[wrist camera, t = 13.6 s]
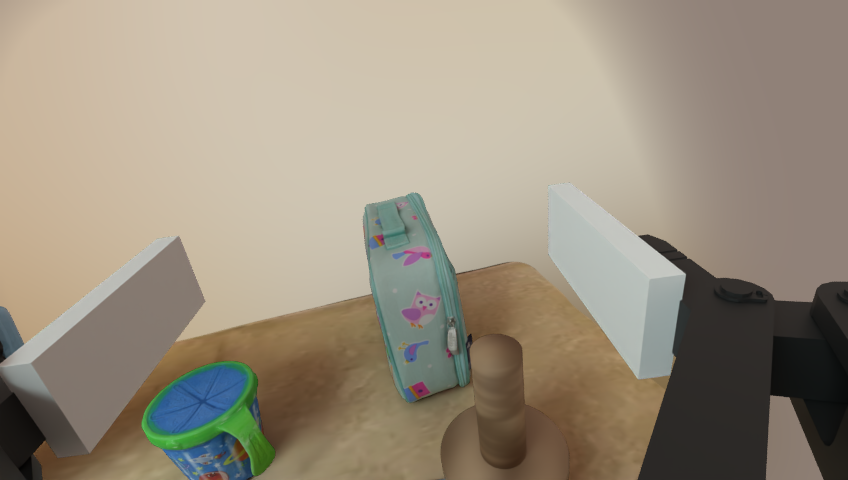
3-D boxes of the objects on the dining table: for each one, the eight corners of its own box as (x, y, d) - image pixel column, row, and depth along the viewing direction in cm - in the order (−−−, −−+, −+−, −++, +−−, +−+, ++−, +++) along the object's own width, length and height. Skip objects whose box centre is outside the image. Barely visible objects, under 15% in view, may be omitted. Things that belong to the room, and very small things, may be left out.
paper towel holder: (447, 528, 33) (427, 414, 28) (438, 416, 43) (423, 317, 38) (589, 512, 32) (595, 394, 28) (547, 403, 43) (546, 302, 38)
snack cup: (153, 466, 48) (115, 399, 44) (238, 404, 55) (212, 341, 51) (222, 549, 39) (181, 473, 34) (313, 461, 46) (289, 390, 42)
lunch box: (487, 409, 49) (471, 243, 40) (400, 431, 48) (364, 264, 39) (437, 294, 73) (421, 174, 65) (378, 306, 72) (353, 186, 63)
